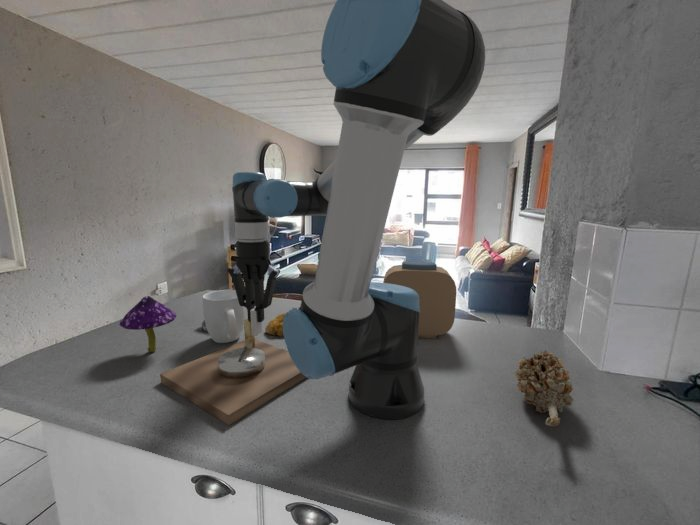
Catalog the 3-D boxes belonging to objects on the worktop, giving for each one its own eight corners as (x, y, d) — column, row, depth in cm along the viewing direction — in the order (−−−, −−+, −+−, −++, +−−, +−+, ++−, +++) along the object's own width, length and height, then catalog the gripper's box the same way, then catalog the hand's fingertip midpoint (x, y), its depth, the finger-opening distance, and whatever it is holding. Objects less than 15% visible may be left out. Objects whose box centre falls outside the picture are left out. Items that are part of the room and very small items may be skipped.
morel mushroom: (508, 380, 73) (512, 338, 72) (557, 388, 70) (563, 345, 69) (526, 449, 53) (533, 393, 51) (597, 465, 50) (606, 405, 48)
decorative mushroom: (129, 346, 89) (122, 292, 86) (180, 339, 94) (176, 288, 91) (117, 367, 78) (110, 305, 75) (177, 357, 83) (172, 300, 80)
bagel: (262, 328, 103) (262, 313, 102) (297, 323, 107) (296, 309, 107) (268, 340, 94) (268, 324, 93) (305, 335, 99) (305, 320, 98)
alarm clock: (448, 328, 104) (452, 261, 100) (453, 341, 94) (458, 266, 91) (382, 324, 107) (384, 258, 103) (380, 336, 97) (382, 264, 93)
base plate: (318, 370, 77) (318, 360, 77) (229, 425, 58) (228, 413, 57) (251, 344, 91) (250, 336, 90) (161, 382, 71) (160, 372, 71)
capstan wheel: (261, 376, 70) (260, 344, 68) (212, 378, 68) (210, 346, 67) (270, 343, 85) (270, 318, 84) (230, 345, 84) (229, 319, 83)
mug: (255, 346, 90) (253, 299, 88) (212, 356, 84) (209, 306, 82) (240, 328, 102) (238, 287, 100) (202, 336, 96) (198, 292, 94)
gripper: (284, 239, 81) (286, 330, 85) (236, 237, 83) (241, 325, 88) (270, 242, 73) (274, 342, 78) (218, 240, 76) (224, 337, 81)
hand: (256, 333), depth 83 cm, fingers closed
